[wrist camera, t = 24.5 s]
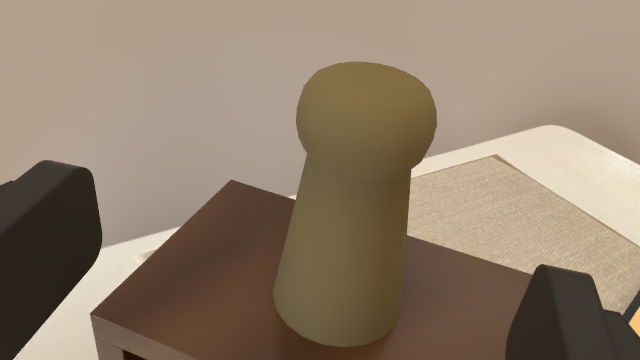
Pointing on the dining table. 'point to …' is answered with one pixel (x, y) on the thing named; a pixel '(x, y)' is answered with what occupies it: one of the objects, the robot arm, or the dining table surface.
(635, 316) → the wallet
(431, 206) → the dining table surface
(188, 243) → the shelf
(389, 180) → the cork
